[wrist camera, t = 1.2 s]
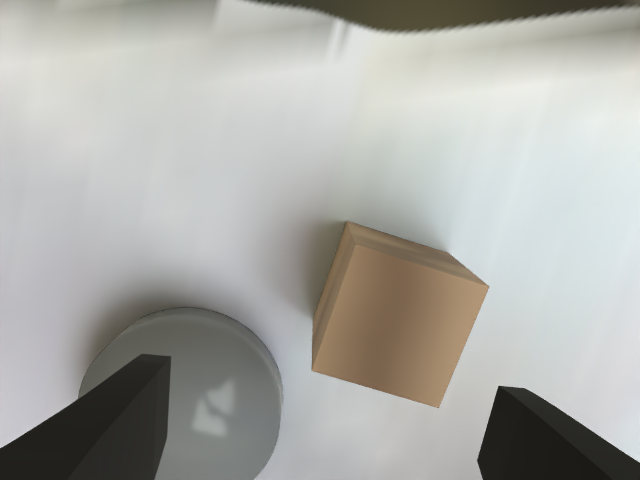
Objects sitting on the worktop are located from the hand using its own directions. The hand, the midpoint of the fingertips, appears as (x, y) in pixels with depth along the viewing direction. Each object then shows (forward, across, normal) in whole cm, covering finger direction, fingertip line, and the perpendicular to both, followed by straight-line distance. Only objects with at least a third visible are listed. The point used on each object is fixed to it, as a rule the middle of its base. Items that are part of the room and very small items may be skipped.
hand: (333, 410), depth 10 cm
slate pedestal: (+11, +5, +8) cm, 14 cm away
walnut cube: (+11, -3, +1) cm, 12 cm away
